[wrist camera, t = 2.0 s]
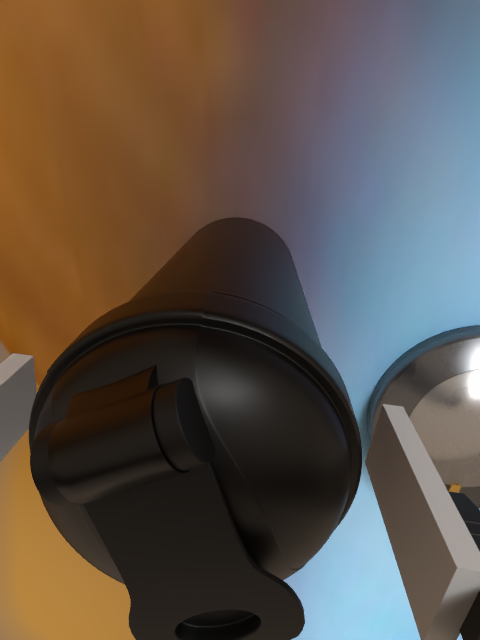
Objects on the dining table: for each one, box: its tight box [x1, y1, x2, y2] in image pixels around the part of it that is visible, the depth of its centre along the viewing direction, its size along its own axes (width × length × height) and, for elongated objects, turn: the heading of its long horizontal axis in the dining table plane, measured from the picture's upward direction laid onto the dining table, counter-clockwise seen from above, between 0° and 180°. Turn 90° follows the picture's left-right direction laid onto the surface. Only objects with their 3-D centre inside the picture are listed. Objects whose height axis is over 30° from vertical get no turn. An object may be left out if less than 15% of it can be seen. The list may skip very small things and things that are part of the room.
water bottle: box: [29, 218, 362, 640], centre depth 20 cm, size 10×10×23 cm
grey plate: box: [367, 325, 480, 508], centre depth 33 cm, size 16×16×2 cm
